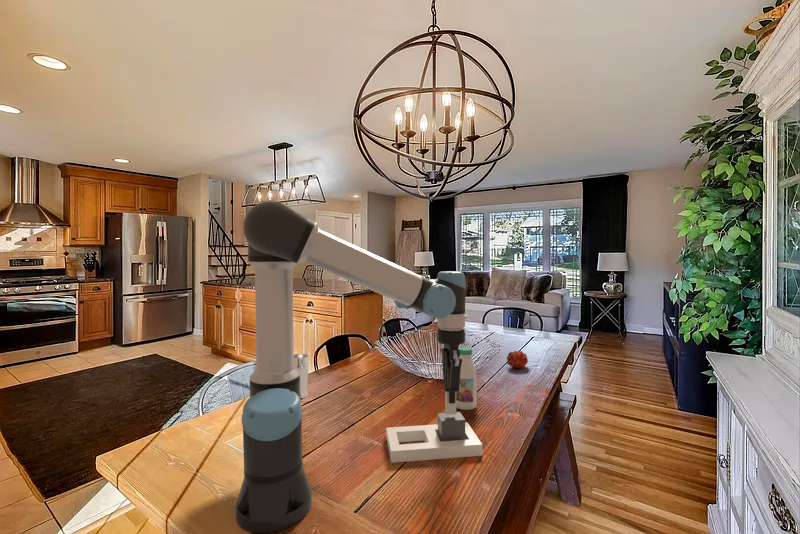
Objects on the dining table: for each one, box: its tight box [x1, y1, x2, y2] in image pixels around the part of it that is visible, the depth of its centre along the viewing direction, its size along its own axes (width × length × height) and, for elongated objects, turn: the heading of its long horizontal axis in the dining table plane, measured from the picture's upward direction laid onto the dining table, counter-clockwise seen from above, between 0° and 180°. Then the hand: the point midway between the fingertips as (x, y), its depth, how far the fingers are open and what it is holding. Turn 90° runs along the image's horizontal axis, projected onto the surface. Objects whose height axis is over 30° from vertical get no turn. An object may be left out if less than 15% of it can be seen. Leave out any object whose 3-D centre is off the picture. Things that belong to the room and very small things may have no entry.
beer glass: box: [293, 353, 310, 399], centre depth 143 cm, size 7×7×15 cm
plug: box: [437, 411, 466, 442], centre depth 106 cm, size 5×6×8 cm
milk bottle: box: [456, 346, 478, 411], centre depth 132 cm, size 8×8×20 cm
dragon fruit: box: [506, 350, 529, 370], centre depth 174 cm, size 8×8×12 cm
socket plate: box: [385, 421, 483, 463], centre depth 106 cm, size 13×24×3 cm, turn 97°
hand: (450, 413), depth 106 cm, fingers closed
